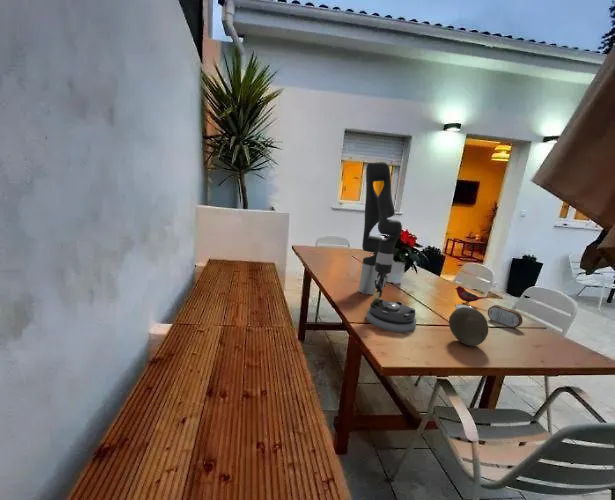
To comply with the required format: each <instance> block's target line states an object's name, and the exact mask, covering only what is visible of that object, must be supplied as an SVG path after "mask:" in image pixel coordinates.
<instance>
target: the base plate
mask: <svg viewBox="0 0 615 500" xmlns="http://www.w3.org/2000/svg"><path fill="white" fill-rule="evenodd" d="M369 310H370V307H369V308H368V309H367V310H366V317H365V318H367V319H366V320H367V322H368V321H369V322H370V324H371V325H372V324H373V326H374V325H375V327H376V326H377V327H376V328H378V327H379V328H378V329H380V330H384V331H388V332H393V333H411V332H413V331H414V330H415V329H416V326H417V318H416V317H415V319H414V322H412V323H410V324H394V323H389V322H385V321H382V320H379V319H377V318H375V317H374V316H372V315H371V314H370V312H369ZM369 322H368V323H369Z"/></svg>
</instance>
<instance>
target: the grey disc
mask: <svg viewBox="0 0 615 500" xmlns="http://www.w3.org/2000/svg"><path fill="white" fill-rule="evenodd" d="M379 294H380V292H379V291H377V290H375V291H374V294H372V302H371V303H370V306H369V308H370V310H369V312H370V314H371V315H372V316H374V317H375V318H377V319H379V320H382V321H385V322H389V323H394V324H410V323H412V322H414V319H415V318H416V309H415V308H413V307H410V306H408V305H406V304H403V302H402V301H400V300H396V302H395V301H390V300H384V299H382V298H380V297H379Z"/></svg>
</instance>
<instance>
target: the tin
mask: <svg viewBox="0 0 615 500" xmlns="http://www.w3.org/2000/svg"><path fill="white" fill-rule="evenodd" d="M487 316H488V318H489V319H490V320H491V321H492V322H494V323H497V324H499V325H502V326H505V327H507V328H510V329H516V328H519V327H520V326H521V325H522V324H523V322H524V321H523V320H524V319H523V317H522V315H521V314H520V312H518V311H516V310H513V309H511V308H508V307H505V306H502V305H498V304H495V305H492V306H490V307H489V308H488V310H487Z"/></svg>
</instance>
